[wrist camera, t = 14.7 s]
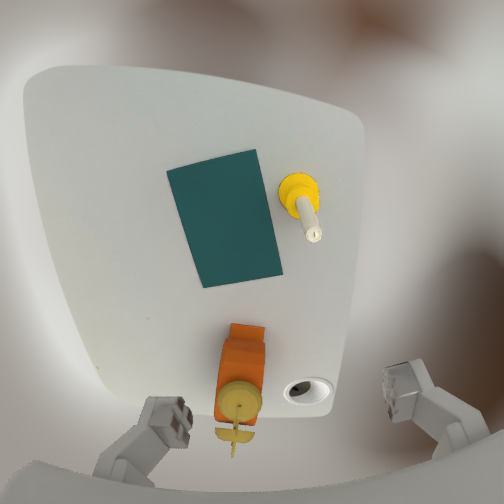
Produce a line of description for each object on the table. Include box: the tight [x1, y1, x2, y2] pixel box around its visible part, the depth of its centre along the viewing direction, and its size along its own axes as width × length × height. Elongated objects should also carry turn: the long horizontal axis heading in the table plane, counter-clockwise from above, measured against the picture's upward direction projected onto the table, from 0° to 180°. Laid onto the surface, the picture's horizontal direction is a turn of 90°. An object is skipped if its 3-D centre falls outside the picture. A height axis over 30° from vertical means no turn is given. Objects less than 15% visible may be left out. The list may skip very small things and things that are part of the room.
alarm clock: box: [214, 323, 265, 458], centre depth 43 cm, size 13×6×20 cm, turn 173°
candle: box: [279, 173, 322, 243], centre depth 33 cm, size 5×5×16 cm
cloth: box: [167, 149, 283, 288], centre depth 43 cm, size 18×12×1 cm, turn 13°
